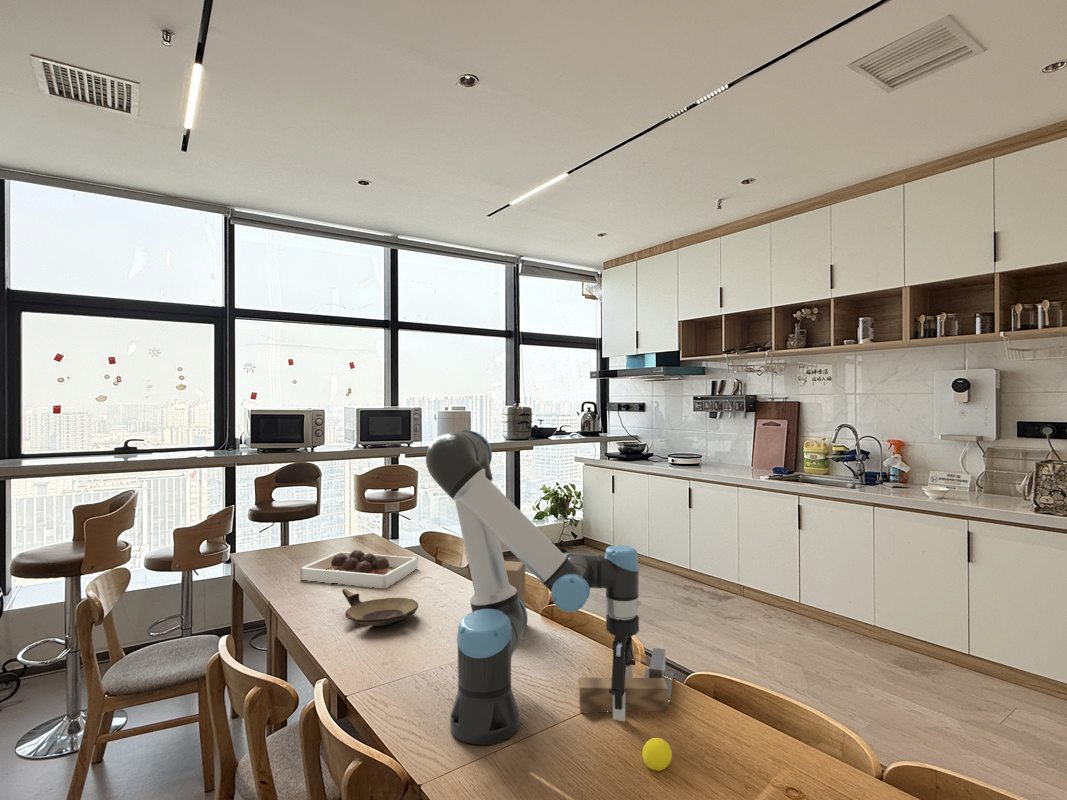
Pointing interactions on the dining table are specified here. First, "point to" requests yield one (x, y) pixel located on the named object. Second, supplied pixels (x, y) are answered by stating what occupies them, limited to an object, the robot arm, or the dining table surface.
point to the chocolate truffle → (360, 563)
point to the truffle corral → (320, 573)
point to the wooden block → (516, 577)
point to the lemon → (657, 754)
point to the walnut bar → (637, 694)
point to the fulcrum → (659, 669)
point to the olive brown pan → (378, 609)
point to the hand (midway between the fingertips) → (623, 706)
